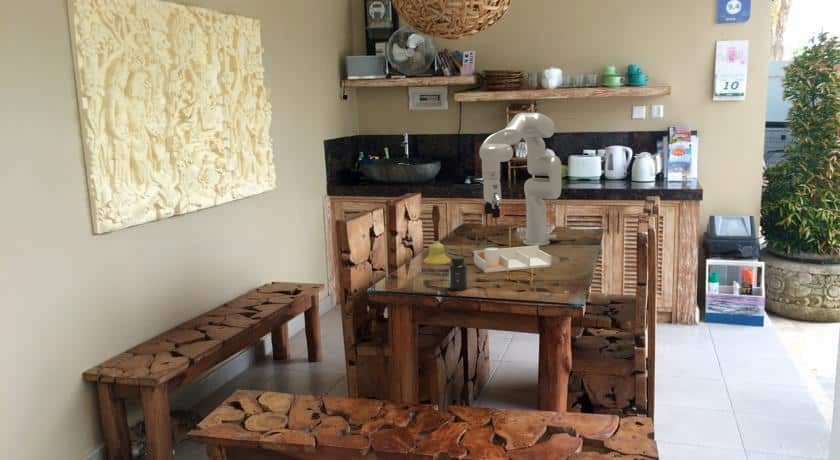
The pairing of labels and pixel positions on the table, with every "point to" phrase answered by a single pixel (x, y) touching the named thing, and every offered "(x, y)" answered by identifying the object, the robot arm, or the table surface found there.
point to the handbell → (436, 242)
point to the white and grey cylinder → (492, 256)
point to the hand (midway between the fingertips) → (492, 215)
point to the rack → (515, 259)
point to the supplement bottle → (458, 274)
